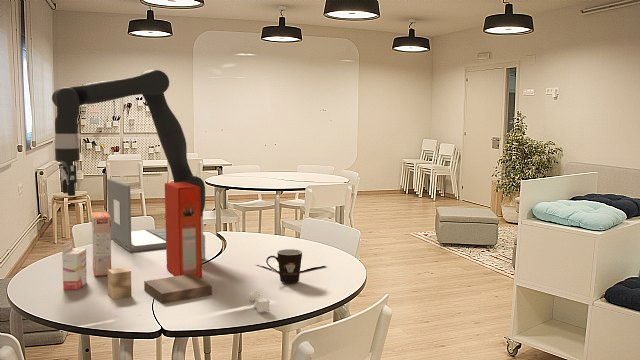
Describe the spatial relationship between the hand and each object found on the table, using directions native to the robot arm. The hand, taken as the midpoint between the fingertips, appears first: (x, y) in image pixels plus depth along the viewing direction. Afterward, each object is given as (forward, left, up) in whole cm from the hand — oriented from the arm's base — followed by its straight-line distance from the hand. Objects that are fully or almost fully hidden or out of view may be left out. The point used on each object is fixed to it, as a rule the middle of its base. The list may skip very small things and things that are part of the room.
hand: (68, 194), depth 190 cm
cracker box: (-11, -1, -29) cm, 31 cm away
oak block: (-8, +31, -29) cm, 43 cm away
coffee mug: (-60, +45, -29) cm, 80 cm away
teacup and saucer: (-73, +27, -29) cm, 83 cm away
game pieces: (-39, +63, -29) cm, 79 cm away
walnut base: (-24, +38, -29) cm, 53 cm away
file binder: (-34, +18, -29) cm, 48 cm away
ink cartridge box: (+1, +13, -29) cm, 32 cm away
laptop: (-41, -41, -29) cm, 65 cm away
